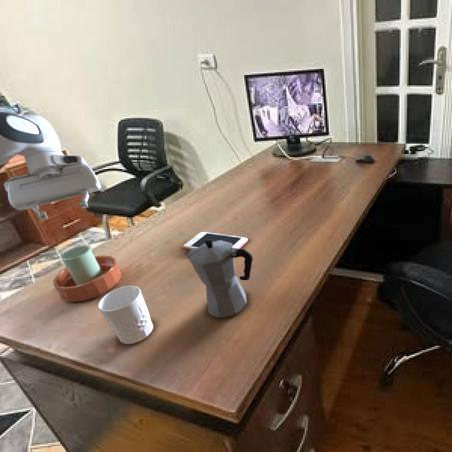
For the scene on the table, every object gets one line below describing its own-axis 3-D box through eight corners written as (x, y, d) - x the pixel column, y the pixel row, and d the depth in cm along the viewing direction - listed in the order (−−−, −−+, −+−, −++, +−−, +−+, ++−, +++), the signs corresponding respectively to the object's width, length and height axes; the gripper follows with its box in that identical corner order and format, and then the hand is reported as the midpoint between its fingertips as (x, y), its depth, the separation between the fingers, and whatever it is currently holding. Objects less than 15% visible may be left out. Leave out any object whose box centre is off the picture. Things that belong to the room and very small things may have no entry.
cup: (84, 294, 90) (66, 262, 85) (74, 286, 93) (56, 255, 88) (110, 280, 94) (94, 249, 89) (99, 273, 97) (83, 243, 93)
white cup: (115, 352, 73) (95, 316, 68) (118, 327, 79) (100, 293, 74) (156, 337, 75) (139, 302, 70) (156, 315, 81) (141, 281, 77)
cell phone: (202, 233, 114) (201, 231, 114) (248, 240, 108) (248, 237, 107) (183, 248, 107) (182, 245, 106) (231, 256, 101) (231, 253, 100)
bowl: (76, 311, 85) (66, 295, 83) (53, 292, 93) (44, 277, 90) (132, 279, 95) (125, 264, 93) (107, 264, 103) (100, 250, 100)
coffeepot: (192, 318, 80) (167, 252, 71) (210, 291, 88) (189, 229, 79) (257, 319, 77) (239, 252, 68) (269, 291, 85) (255, 228, 77)
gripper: (-4, 173, 89) (11, 221, 87) (87, 154, 98) (103, 196, 96) (8, 185, 95) (22, 229, 92) (93, 165, 104) (109, 206, 101)
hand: (64, 212), depth 94 cm, fingers open, 8 cm apart
